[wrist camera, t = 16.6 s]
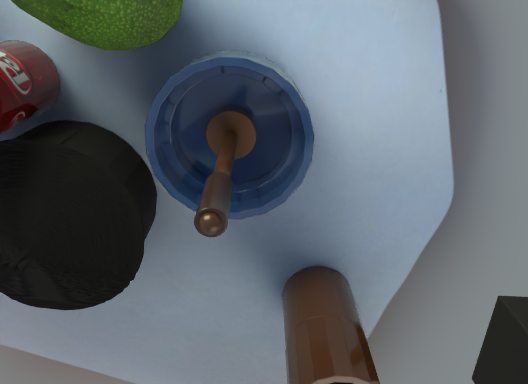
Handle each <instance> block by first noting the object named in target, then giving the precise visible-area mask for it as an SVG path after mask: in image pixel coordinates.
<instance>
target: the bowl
mask: <svg viewBox="0 0 528 384" xmlns="http://www.w3.org/2000/svg"><path fill="white" fill-rule="evenodd" d="M225 106H239V107H242V108H244V109H245V110H247V111H248V112H249V113H250V114H251V115H252V116H253V118H254V120H255V123H256V127H257V133H256V142H255V145H254V147H253V149H252V150H251V151H250V152H249V153H248V154H247V155H246V156H244V157H242V158H239V159H234V162H233V168H232V173H231V179H232V181H233V192H232V198H231V204H230V211H229V217H228V219H244V218H248V217H252V216H256V215H261V214H264V213H266V212H268V211H270V210H271V209H273V208H275V207H277V206H278V205H280V204H282V203H283V202H285V201H286V200H287V199H288V198H289V196H290V195H291V194H292V193H293V192H294V191H295V190H296V189H297V188H298V187H299V186H300V184H301V183H302V181H303V179H304V177H305V175H306V172H307V170H308V168H309V166H310V164H311V161H312V153H313V144H314V132H313V128H312V123H311V119H310V114H309V110H308V108H307V106H306V103H305V101H304V99H303V97H302V95H301V94H300V92H299V90H298V89H297V87H296V85H295V84H294V82H293V80H292V79H291V78H290V77H289V76H288V75H287V74H286V73H285V72H283V71H282V70H281V69H280V68H279V67H278V66H276V65H275V64H274V63H273V62H271V61H269V60H267V59H264V58H262V57H259V56H257V55H254V54H252V53H249V52H239V51H219V52H215V53H212V54H208V55H205V56H201V57H198V58H196V59H195V60H194V61H192V62H191V63H189V64H188V65H186V66H185V67H184V68H182V69H181V70H179V71H178V72H177V73H175V74H174V75H173V76H172V77H171V78H169V79H168V80H167V81H166V83H165V84H164V86H163V87H162V88H161V90H160V91H159V93H158V94H157V95H156V97H155V98H154V100H153V101H152V103H151V107H150V110H149V114H148V117H147V121H146V124H145V138H146V152H147V156H148V158H149V161H150V164H151V166H152V169H153V171H154V174H155V176H156V177H157V179H158V180H159V181H160V182H161V184H162V185H163V186H164V187H165V189H166V190H167V191H168V192H169V194H170V195H172V197H174V198H175V199H177V200H178V201H179V202H181V203H182V204H184V205H185V206H187V207H188V208H189V209H191V210H193V211H196V212H197V209H198V205H199V202H200V199H201V196H202V193H203V189H204V186H205V183H206V180H207V178H208V177H209V176H210V175H211V174H213V171H214V167H215V164H216V160H217V157H218V155H216V154H215V153H214V152H213V151H212V150H211V149H210V147H209V145H208V143H207V140H206V129H207V126H208V123H209V121H210V119H211V117H212V115H213V114H214V113H215V112H216V111H217V110H219V109H220V108H222V107H225Z"/></svg>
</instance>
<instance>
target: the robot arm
mask: <svg viewBox="0 0 528 384" xmlns="http://www.w3.org/2000/svg"><path fill="white" fill-rule="evenodd" d="M472 380H473V381H474V383H475V384H528V297H515V296H498V298H497V302H496V304H495V308H494V311H493V314H492V317H491V320H490V323H489V326H488V329H487V332H486V335H485V339H484V342H483V345H482V348H481V351H480V354H479V357H478V360H477V363H476V366H475V370H474V372H473V376H472Z"/></svg>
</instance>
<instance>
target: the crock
mask: <svg viewBox="0 0 528 384" xmlns="http://www.w3.org/2000/svg"><path fill="white" fill-rule="evenodd" d="M282 301H283V316H284V330H285V345H286V350H285V355H286V370H287V384H380V382H379V379H378V376H377V373H376V369H375V366H374V363H373V360H372V356H371V353H370V350H369V347H368V343H367V340H366V337H365V334H364V331H363V327H362V324H361V321H360V318H359V314H358V311H357V308H356V305H355V301H354V298H353V295H352V292H351V288H350V285H349V283H348V281H347V280H346V278H345V277H344V276H343V275H342V274H340V273H339V272H337V271H336V270H334V269H331V268H327V267H309V268H306V269H303V270H301V271H299V272H297V273H295V274H294V275H293V276H292V277H291V278H290V279H289V280H288V281H287V283H286V284H285V286H284V289H283V293H282Z"/></svg>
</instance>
